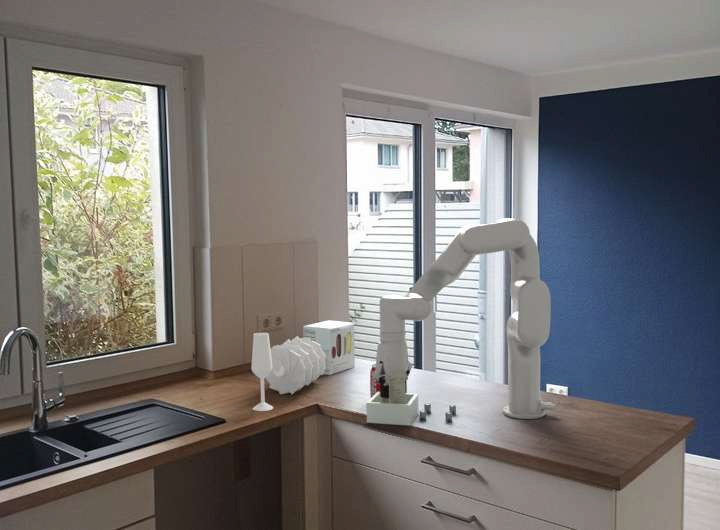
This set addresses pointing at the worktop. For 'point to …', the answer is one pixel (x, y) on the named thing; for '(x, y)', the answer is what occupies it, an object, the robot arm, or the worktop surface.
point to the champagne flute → (261, 365)
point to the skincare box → (396, 389)
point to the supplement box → (334, 344)
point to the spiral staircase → (295, 364)
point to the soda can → (373, 382)
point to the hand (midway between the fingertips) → (393, 394)
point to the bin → (392, 410)
